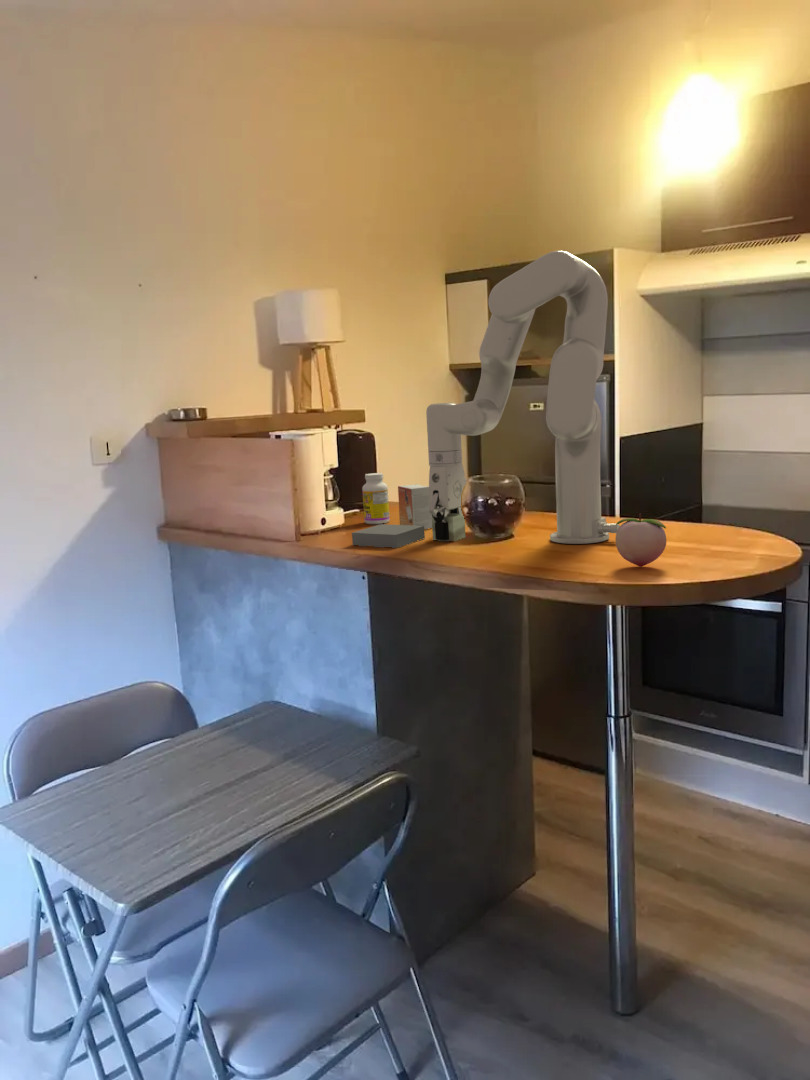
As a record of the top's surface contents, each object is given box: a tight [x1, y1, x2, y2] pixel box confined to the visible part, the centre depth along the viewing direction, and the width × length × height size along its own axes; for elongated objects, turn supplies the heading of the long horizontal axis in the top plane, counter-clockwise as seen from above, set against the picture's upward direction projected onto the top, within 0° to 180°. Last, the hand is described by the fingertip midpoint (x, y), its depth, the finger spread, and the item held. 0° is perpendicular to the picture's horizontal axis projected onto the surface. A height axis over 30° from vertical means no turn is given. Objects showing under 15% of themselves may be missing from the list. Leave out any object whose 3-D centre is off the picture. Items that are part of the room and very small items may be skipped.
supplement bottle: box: [361, 472, 390, 525], centre depth 239 cm, size 7×7×13 cm
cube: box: [431, 513, 466, 542], centre depth 209 cm, size 6×6×6 cm
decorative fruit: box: [615, 513, 667, 568], centre depth 168 cm, size 9×8×10 cm
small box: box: [397, 483, 432, 530], centre depth 227 cm, size 8×6×10 cm
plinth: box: [351, 523, 426, 549], centre depth 210 cm, size 12×12×3 cm
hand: (449, 536), depth 210 cm, fingers closed on cube, 5 cm apart
